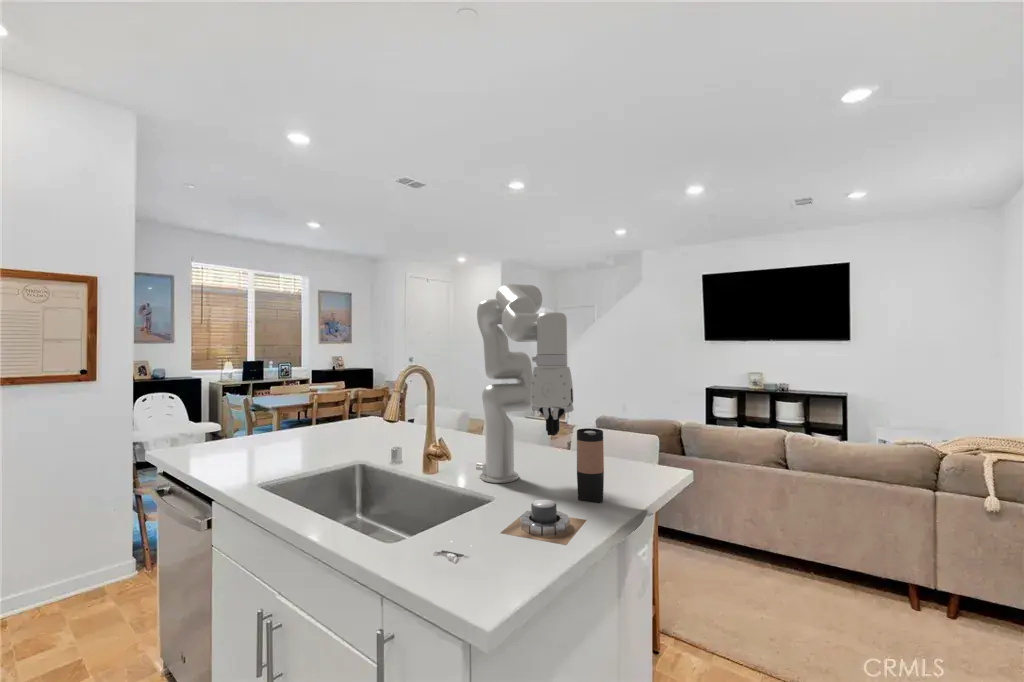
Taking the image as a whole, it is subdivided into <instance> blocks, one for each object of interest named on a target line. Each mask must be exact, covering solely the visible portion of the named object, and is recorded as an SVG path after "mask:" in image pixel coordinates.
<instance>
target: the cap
mask: <svg viewBox="0 0 1024 682" xmlns="http://www.w3.org/2000/svg"><path fill="white" fill-rule="evenodd" d="M530 508H531V509H530V511H531V514H532V521H533V522H535V523H541V524H552V523H555V522H557V511H558V510H557V503H555V502H554V501H553V500H549V499H536V500H535V501H533V502H532V503H531V507H530Z"/></svg>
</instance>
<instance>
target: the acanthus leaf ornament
mask: <svg viewBox="0 0 1024 682" xmlns="http://www.w3.org/2000/svg"><path fill="white" fill-rule="evenodd" d="M450 543H453V540H450ZM469 547H473V545H470V546H469ZM432 556H433V557H439V556H440V557H445V558H446V559H447V560H448V561H450V562H453V564H457V562H458V561H459V558H463V557H464V556H465V555H464V554H462V553H457V552H453V551H449V550H443V549H442V550H441V551H435V552H433V553H432Z"/></svg>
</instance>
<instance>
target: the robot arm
mask: <svg viewBox="0 0 1024 682" xmlns="http://www.w3.org/2000/svg"><path fill="white" fill-rule="evenodd" d="M542 305H543V295H542V292H541V290H540V288H539V287H538V286H536V285H533V284H515V283H512V284H511V283H508V284H504V285H502V286H500V287H499V288H498V289H497V291H496V293H495V298H493V299H492V298H491V299H485V300H483V301H480V303H479V304H478V306H477V310H476V319H477V325H478V328H479V331H480V334H481V337H482V341H483V355H484V356H483V357H484V371H485V375H486V377H487V378H488V379H490V380H494V381H495V380H496V381H497V380H498V381H500V380H515V381H516V382H514V383H513V382H512V383H507V382H505V383H491V384H489V385H487V386H486V387H484V389H483V391H482V395H481V396H482V397H481V398H482V405H483V412H484V425H485V426H484V427H485V429H484V432H485V439H484V440H485V441H484V442H485V446H484V447H485V448H484V449H485V463H481V462H476V465H475V469H476V471H482V473H481V474H480V478H481V481H484V482H487V483H492V484H506V483H510V482H514V481H517V480H518V479H519V473H518V472H516V471H515V452H514V451H515V449H514V448H515V447H514V446H515V445H514V440H515V438H514V437H515V436H514V433H515V429H514V424H513V421H512V420H511V419H510V417H509V416H508V414H507V413H511V412H525V411H529V410H531V409H532V410H533V411H536V412H539V413H540V414H541V415H542V416H543V418H544V419H545V431H546V432H547V436H553V437H554V436H556V435H558V433H559V432H560V418H562V416H563V415H564V414H567V413H572V412H573V411H574V406H573V404H574V387H573V386H574V385H573V379H572V372H571V368H570V366H568V334H567V333H568V325H567V324H568V323H567V315H566V314H564V313H563V312H558V311H553V312H552V311H550V312H549V311H548V312H542V313H538V311H540V309H541V306H542ZM499 325H502V328H501V327H500V326H499ZM509 339H511V341H515V342H517V343H519V342H520V343H525V342H526V343H527V342H528V343H530V342H531V343H536V356H533V357H532V359H530V356H529V355H528V354H527V353H526V352H523V351H510V348H509ZM531 361H532V362H531ZM532 363H536V366H534V367H533V368H532ZM552 408H553V412H552Z"/></svg>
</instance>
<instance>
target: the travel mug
mask: <svg viewBox="0 0 1024 682" xmlns="http://www.w3.org/2000/svg"><path fill="white" fill-rule="evenodd" d="M604 457H605V456H604V430H602V429H599V428H590V427H588V428H587V427H585V428H579V429H577V430H576V479H577V480H576V483H577V487H576V488H577V501H578V502H585V503H592V504H599V505H601V504H602V503H603V502H604V481H605V479H604V477H605V459H604Z"/></svg>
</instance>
